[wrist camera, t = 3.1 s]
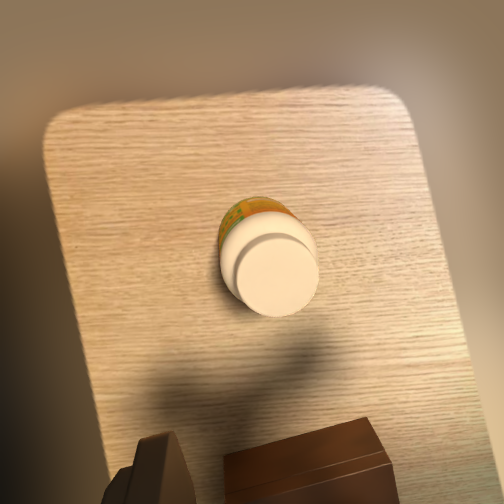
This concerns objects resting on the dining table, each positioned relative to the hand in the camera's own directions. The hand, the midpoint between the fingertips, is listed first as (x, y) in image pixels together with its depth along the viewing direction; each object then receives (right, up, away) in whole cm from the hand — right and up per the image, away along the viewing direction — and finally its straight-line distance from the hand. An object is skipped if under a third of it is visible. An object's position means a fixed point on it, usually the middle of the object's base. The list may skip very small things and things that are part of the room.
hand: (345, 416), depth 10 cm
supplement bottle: (-2, +5, +19) cm, 20 cm away
